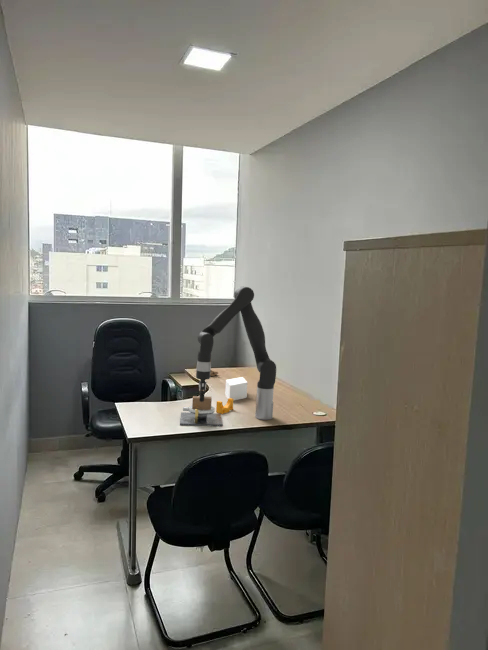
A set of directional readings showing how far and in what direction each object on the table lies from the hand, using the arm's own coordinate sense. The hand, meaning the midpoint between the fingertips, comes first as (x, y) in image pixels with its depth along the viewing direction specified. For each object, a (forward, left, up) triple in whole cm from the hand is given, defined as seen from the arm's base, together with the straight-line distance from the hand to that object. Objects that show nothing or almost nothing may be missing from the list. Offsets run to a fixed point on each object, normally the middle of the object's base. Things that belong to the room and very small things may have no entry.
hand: (201, 399), depth 264 cm
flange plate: (+1, 0, -6) cm, 6 cm away
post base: (0, 0, -11) cm, 11 cm away
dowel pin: (+2, +8, -11) cm, 14 cm away
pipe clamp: (-15, -19, -12) cm, 26 cm away
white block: (-23, -54, -12) cm, 60 cm away
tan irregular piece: (-5, -117, -12) cm, 118 cm away
